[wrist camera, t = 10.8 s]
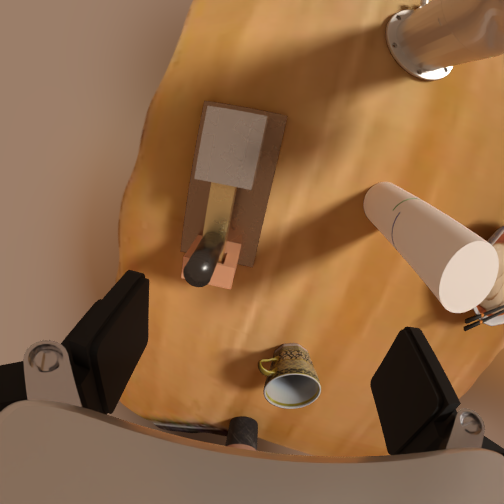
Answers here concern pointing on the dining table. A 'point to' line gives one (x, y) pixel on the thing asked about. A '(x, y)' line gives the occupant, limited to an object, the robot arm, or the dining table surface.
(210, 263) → the sliding bolt with handle
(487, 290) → the cylindrical container
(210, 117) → the brown wooden base board
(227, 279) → the socket
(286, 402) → the ceramic cup
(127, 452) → the robot arm
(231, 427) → the travel mug
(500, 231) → the ramen bowl
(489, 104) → the dining table surface
